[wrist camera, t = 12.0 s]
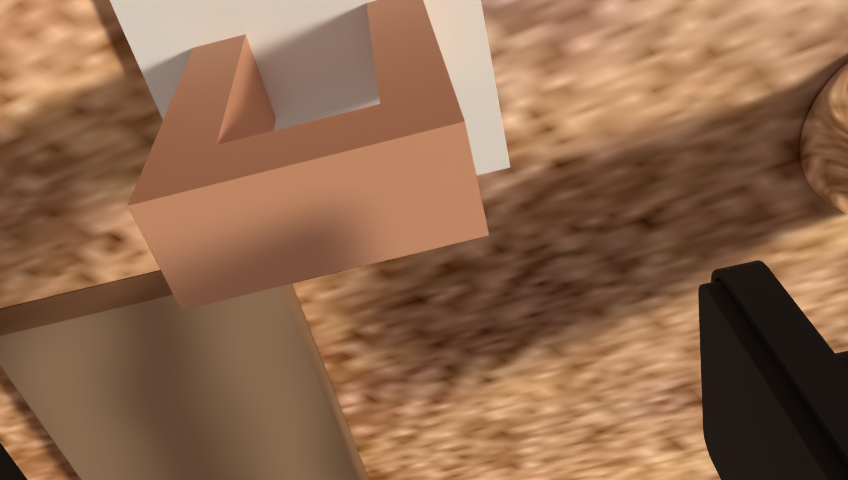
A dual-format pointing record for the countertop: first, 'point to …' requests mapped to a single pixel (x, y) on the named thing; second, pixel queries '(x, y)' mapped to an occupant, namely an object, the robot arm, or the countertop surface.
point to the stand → (178, 385)
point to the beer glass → (828, 142)
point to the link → (306, 171)
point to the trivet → (316, 56)
